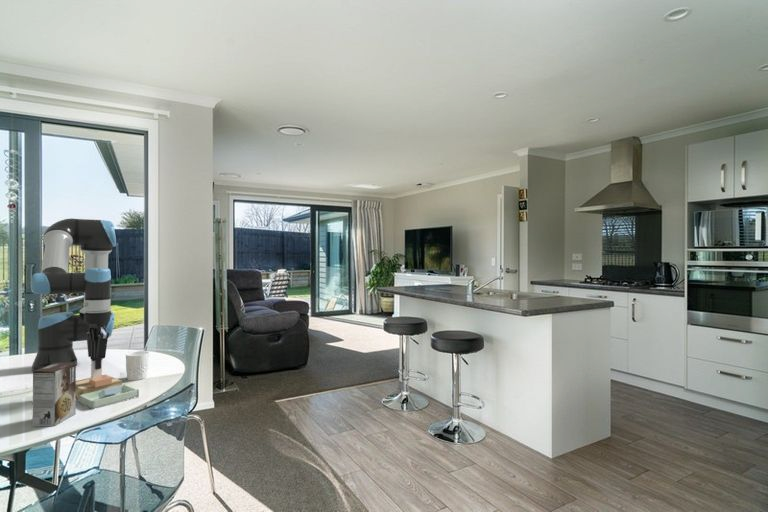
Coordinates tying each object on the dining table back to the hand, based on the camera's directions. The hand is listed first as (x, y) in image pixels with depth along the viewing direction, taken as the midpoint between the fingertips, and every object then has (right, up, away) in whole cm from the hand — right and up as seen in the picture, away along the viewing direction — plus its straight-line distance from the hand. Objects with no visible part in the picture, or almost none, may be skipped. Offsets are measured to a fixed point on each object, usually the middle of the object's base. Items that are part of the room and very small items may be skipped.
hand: (96, 377), depth 143 cm
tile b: (+8, -2, -5) cm, 10 cm away
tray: (+8, -6, -5) cm, 12 cm away
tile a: (+3, -2, -2) cm, 4 cm away
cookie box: (+4, -6, -23) cm, 24 cm away
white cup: (+3, -6, +18) cm, 19 cm away
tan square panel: (-1, -6, +1) cm, 6 cm away
